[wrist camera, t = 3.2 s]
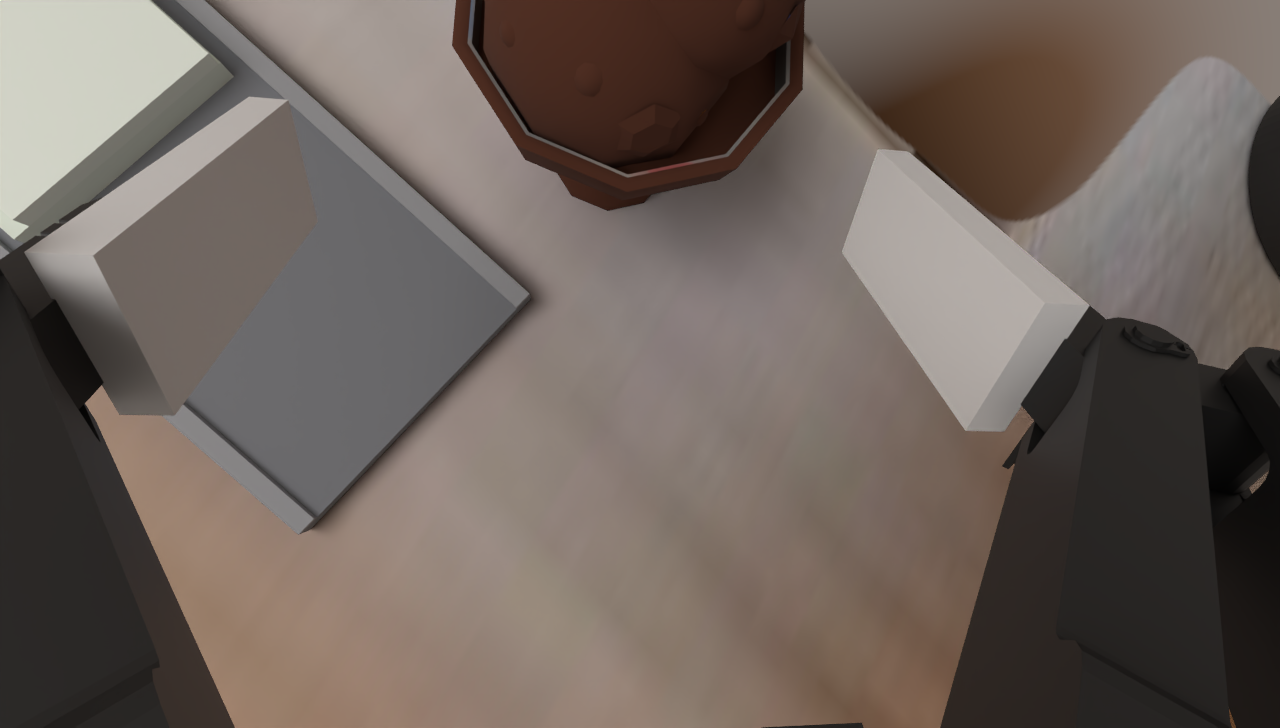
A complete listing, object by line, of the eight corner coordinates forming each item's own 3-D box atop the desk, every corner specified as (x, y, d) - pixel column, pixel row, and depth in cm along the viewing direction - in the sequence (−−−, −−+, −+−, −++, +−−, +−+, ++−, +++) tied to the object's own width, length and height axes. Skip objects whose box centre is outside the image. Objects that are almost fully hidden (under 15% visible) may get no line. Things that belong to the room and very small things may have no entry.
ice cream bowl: (641, -2, 29) (728, -454, 14) (769, 197, 29) (995, -46, 14) (442, 103, 27) (299, -287, 12) (578, 314, 27) (601, 181, 12)
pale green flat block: (234, 76, 25) (210, 51, 23) (36, 247, 24) (-4, 233, 22) (84, -58, 25) (50, -93, 23) (-125, 105, 23) (-179, 81, 22)
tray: (530, 299, 27) (529, 293, 26) (309, 529, 25) (298, 534, 23) (109, -82, 26) (89, -104, 25) (-155, 124, 24) (-189, 110, 23)
